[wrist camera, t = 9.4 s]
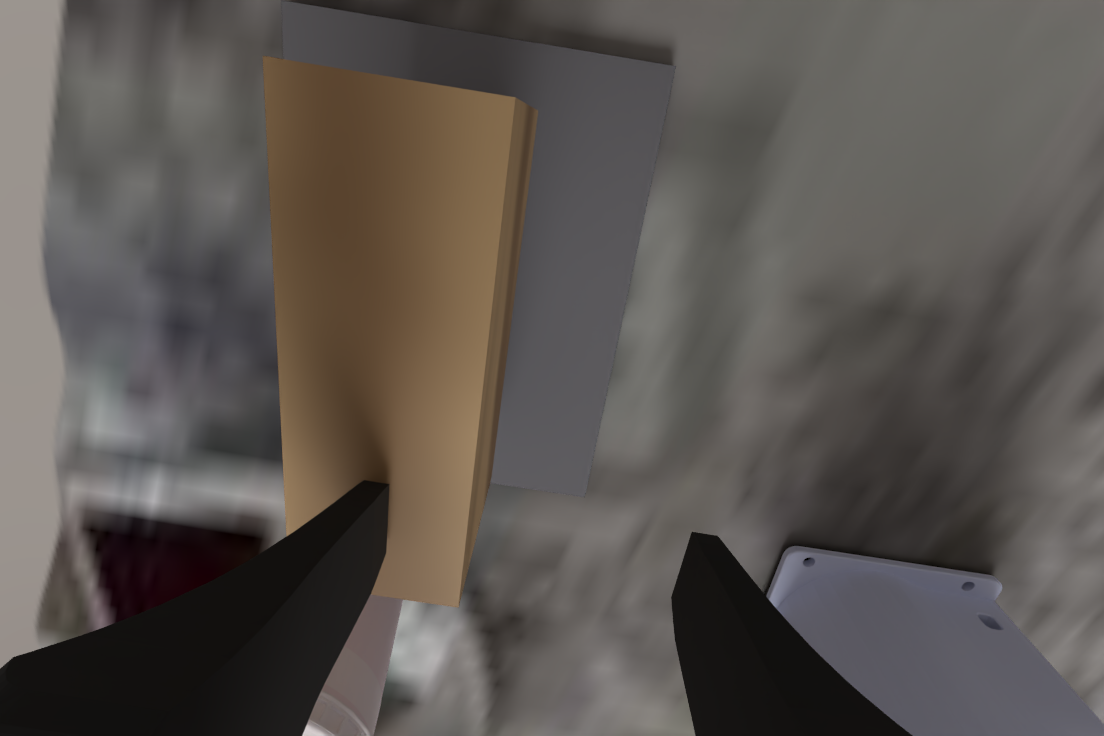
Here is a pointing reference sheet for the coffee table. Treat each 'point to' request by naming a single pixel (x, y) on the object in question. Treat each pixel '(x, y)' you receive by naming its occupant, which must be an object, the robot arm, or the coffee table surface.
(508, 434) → the peg base
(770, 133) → the coffee table surface
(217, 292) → the coffee table surface
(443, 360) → the oak block
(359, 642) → the smoothie
